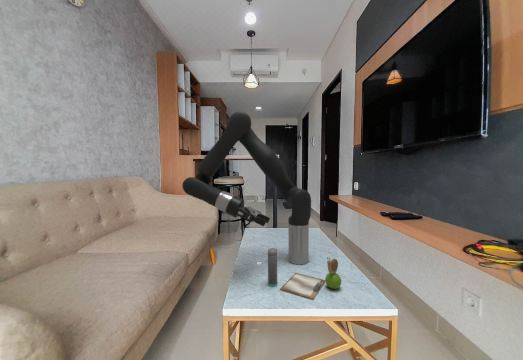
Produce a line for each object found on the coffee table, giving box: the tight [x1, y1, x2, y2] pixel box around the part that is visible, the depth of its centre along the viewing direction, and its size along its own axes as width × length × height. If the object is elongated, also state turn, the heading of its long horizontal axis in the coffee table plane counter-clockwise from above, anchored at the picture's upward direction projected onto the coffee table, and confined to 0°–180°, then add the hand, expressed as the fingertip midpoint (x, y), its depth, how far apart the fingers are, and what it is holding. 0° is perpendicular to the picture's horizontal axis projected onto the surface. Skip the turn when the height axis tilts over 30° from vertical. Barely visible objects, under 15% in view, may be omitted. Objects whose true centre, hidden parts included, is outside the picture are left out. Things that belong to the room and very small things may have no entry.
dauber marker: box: [267, 248, 278, 288], centre depth 83 cm, size 3×3×13 cm
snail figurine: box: [324, 256, 342, 290], centre depth 80 cm, size 5×6×12 cm
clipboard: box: [279, 272, 326, 301], centre depth 82 cm, size 14×12×1 cm
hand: (267, 222), depth 85 cm, fingers open, 8 cm apart
